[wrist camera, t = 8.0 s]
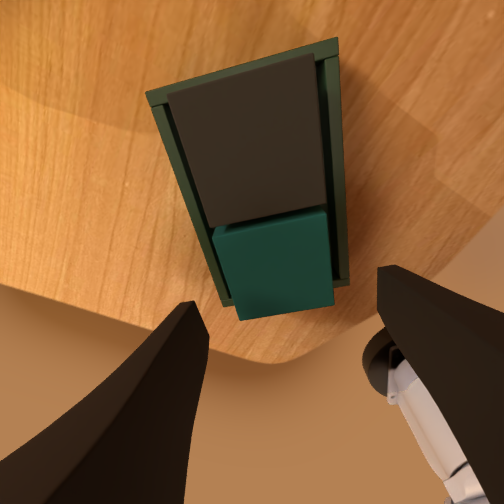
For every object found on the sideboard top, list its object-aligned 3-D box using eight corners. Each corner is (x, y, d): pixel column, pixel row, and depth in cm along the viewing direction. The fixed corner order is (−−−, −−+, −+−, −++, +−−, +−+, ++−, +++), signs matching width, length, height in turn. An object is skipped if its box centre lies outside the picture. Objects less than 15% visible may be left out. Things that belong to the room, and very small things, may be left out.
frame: (340, 268, 17) (350, 285, 15) (226, 289, 18) (223, 308, 16) (325, 49, 11) (338, 35, 9) (160, 96, 12) (144, 92, 10)
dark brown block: (307, 182, 14) (327, 203, 10) (221, 201, 14) (209, 228, 10) (294, 75, 11) (314, 51, 8) (193, 103, 12) (164, 93, 8)
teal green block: (316, 263, 16) (335, 305, 12) (242, 277, 17) (239, 321, 13) (307, 189, 14) (327, 213, 10) (222, 208, 14) (211, 237, 11)
